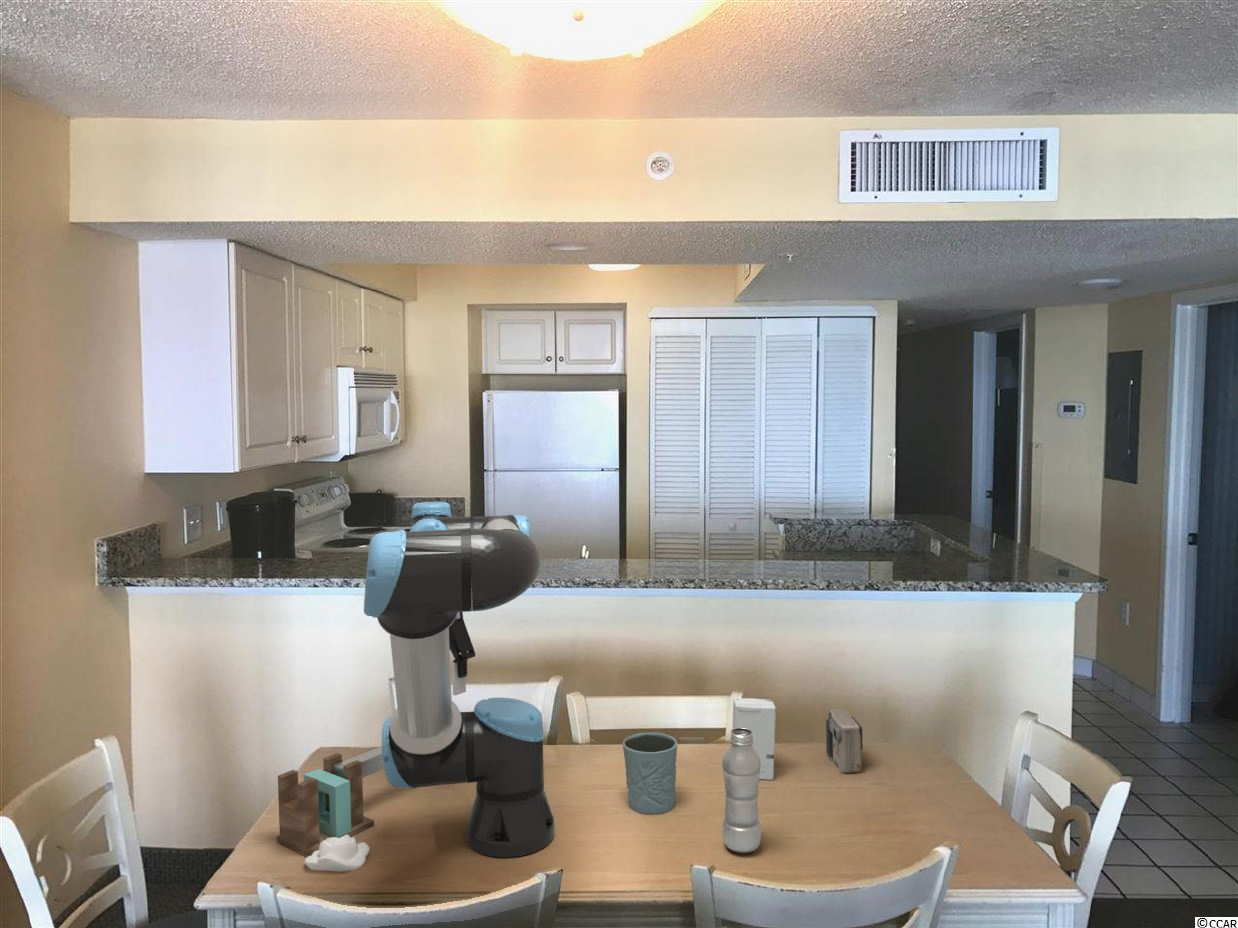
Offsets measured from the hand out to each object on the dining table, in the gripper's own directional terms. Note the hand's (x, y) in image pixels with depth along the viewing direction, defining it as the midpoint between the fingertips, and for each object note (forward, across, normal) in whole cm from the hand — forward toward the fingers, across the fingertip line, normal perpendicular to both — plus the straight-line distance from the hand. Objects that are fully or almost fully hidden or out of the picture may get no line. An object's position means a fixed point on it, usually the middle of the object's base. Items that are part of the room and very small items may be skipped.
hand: (435, 687), depth 171 cm
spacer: (+19, 0, +25) cm, 31 cm away
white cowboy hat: (+20, -9, +30) cm, 37 cm away
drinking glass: (+20, -40, -17) cm, 47 cm away
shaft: (+12, 0, +10) cm, 16 cm away
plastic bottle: (+20, -61, -12) cm, 66 cm away
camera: (+20, -62, -56) cm, 86 cm away
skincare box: (+20, -49, -40) cm, 66 cm away
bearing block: (+20, 0, +26) cm, 33 cm away
